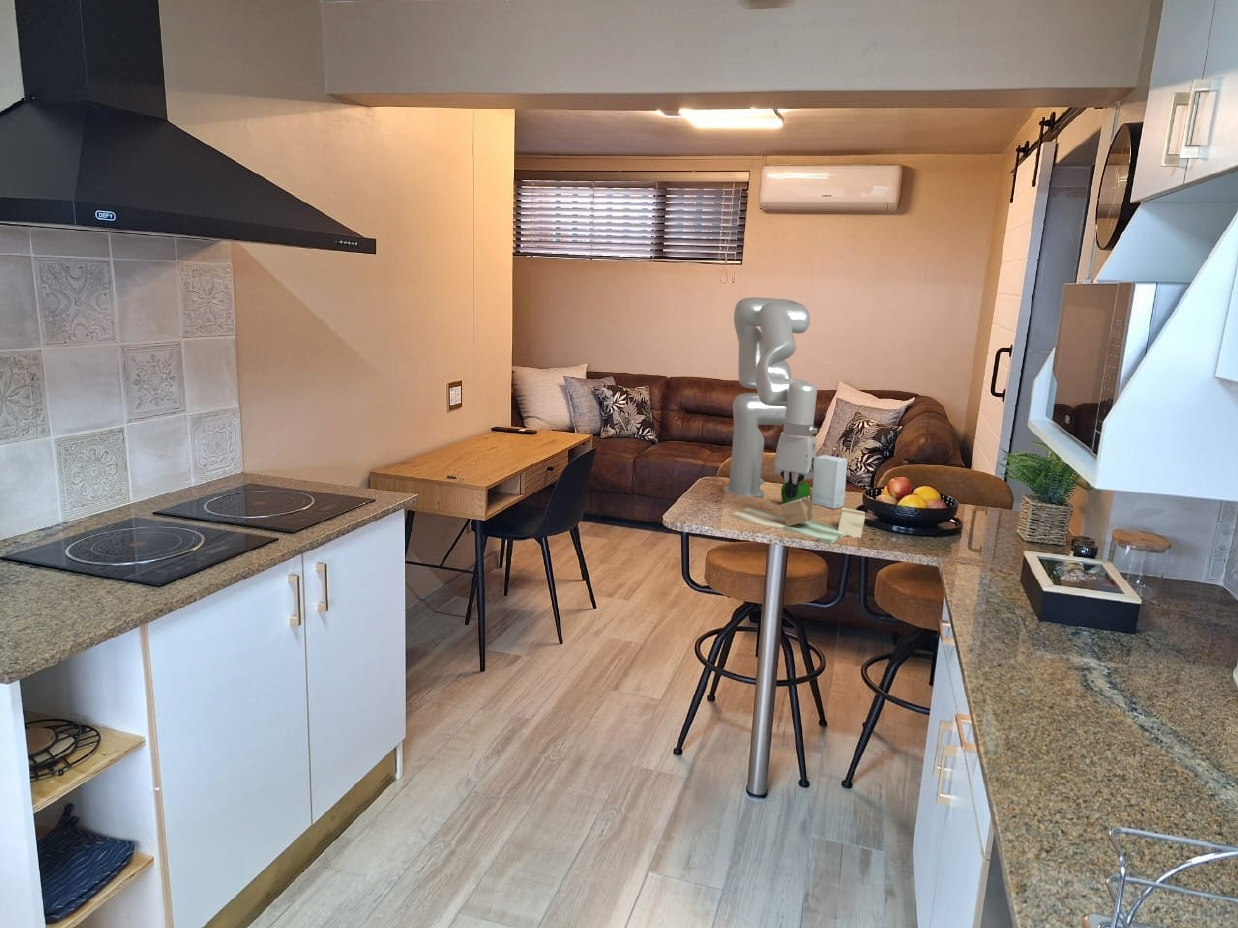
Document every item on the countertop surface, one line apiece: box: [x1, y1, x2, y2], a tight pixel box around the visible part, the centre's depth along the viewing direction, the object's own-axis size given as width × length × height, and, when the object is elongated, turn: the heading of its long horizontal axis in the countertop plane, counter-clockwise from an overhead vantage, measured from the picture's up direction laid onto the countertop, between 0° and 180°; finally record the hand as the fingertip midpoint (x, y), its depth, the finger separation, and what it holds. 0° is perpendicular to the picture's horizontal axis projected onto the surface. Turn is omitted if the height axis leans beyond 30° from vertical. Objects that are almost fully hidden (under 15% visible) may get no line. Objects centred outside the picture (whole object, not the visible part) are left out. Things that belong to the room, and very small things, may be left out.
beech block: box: [837, 507, 866, 539], centre depth 217 cm, size 6×6×6 cm
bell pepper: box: [780, 479, 812, 504], centre depth 238 cm, size 8×8×10 cm
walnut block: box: [779, 495, 817, 526], centre depth 218 cm, size 6×6×6 cm
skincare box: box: [811, 454, 848, 509], centre depth 245 cm, size 8×6×15 cm
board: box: [726, 506, 846, 545], centre depth 221 cm, size 14×30×1 cm, turn 55°
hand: (790, 497), depth 219 cm, fingers closed
